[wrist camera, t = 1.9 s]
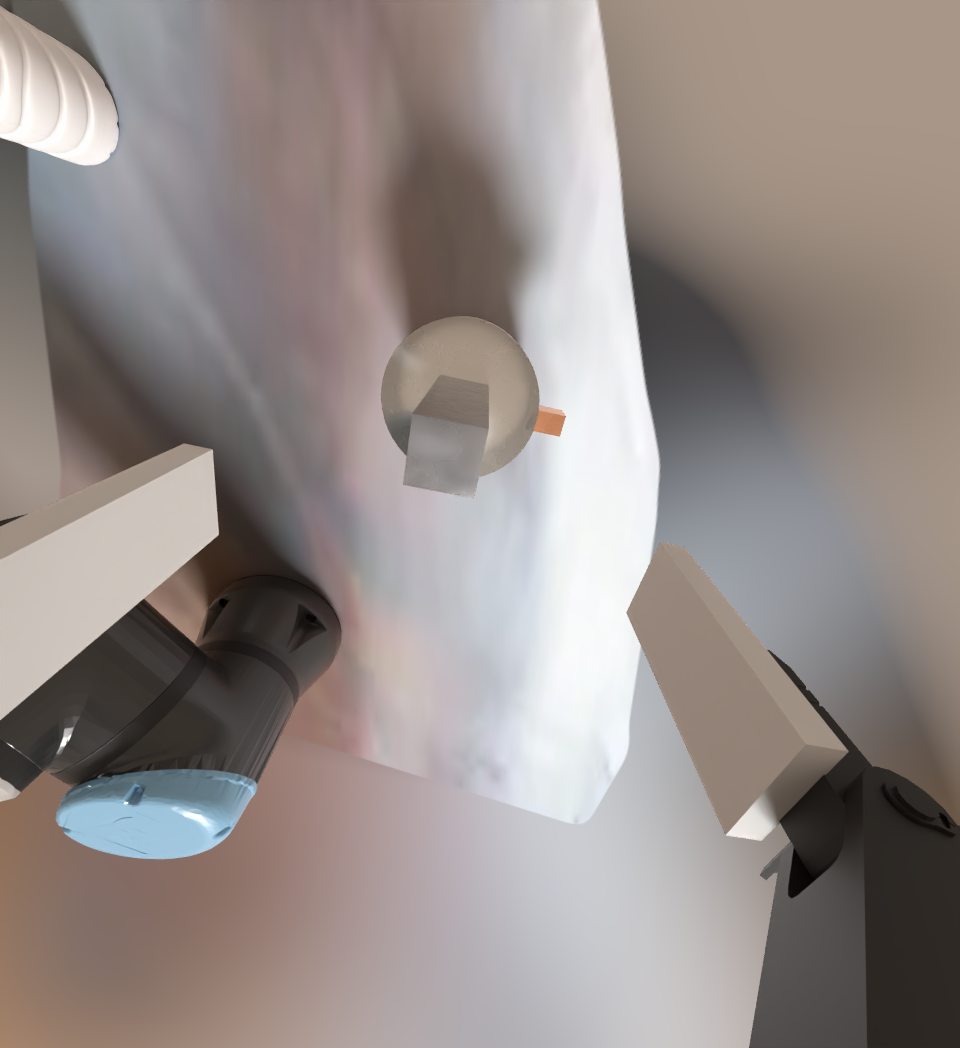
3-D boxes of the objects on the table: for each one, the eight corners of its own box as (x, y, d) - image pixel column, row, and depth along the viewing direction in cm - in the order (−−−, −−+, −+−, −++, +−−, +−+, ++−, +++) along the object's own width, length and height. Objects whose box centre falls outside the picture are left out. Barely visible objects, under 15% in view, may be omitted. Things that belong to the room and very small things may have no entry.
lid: (383, 449, 33) (318, 538, 20) (399, 299, 28) (327, 295, 16) (537, 480, 34) (566, 584, 21) (578, 340, 29) (645, 367, 16)
